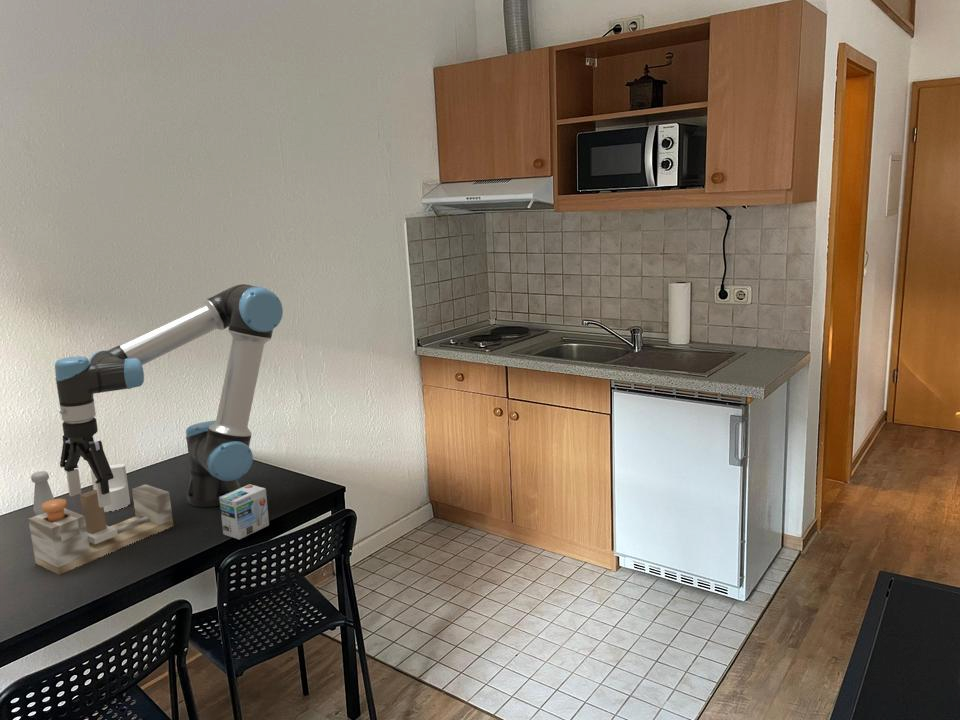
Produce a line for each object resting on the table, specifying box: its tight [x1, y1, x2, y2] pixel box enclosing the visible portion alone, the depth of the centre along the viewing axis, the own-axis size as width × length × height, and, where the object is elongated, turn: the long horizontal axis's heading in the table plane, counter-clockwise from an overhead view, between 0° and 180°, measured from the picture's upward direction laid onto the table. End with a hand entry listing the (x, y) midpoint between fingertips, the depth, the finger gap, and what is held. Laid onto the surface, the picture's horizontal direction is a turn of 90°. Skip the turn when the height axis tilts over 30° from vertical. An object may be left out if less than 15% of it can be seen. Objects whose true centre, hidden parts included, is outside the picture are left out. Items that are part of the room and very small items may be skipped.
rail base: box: [27, 483, 174, 576], centre depth 195 cm, size 31×11×12 cm, turn 146°
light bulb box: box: [219, 483, 270, 540], centre depth 201 cm, size 11×7×11 cm, turn 148°
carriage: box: [79, 489, 118, 544], centre depth 192 cm, size 6×9×12 cm, turn 56°
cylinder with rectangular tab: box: [90, 462, 131, 513], centre depth 220 cm, size 9×9×12 cm
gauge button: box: [42, 498, 68, 522], centre depth 184 cm, size 5×5×5 cm
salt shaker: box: [30, 470, 55, 516], centre depth 214 cm, size 6×6×13 cm
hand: (90, 500), depth 191 cm, fingers open, 13 cm apart
